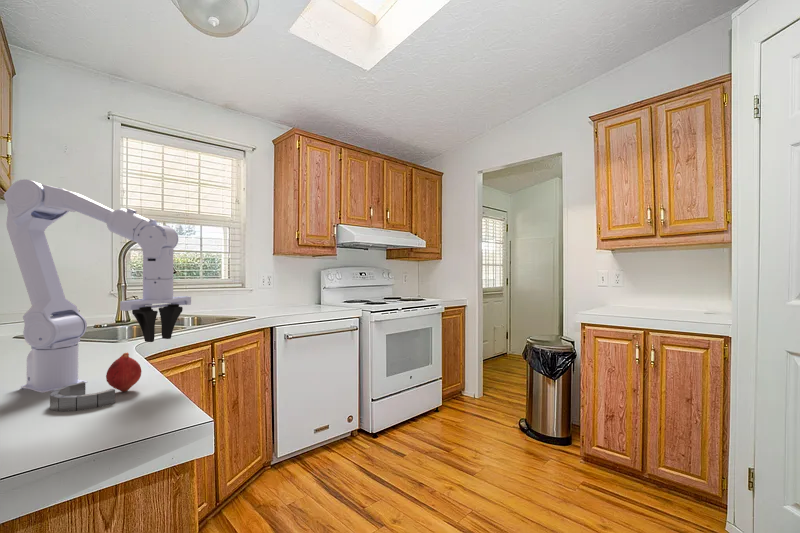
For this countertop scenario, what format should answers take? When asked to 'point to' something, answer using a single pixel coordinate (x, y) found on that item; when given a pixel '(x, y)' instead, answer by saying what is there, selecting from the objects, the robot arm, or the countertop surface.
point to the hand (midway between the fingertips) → (158, 340)
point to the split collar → (79, 398)
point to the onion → (123, 373)
